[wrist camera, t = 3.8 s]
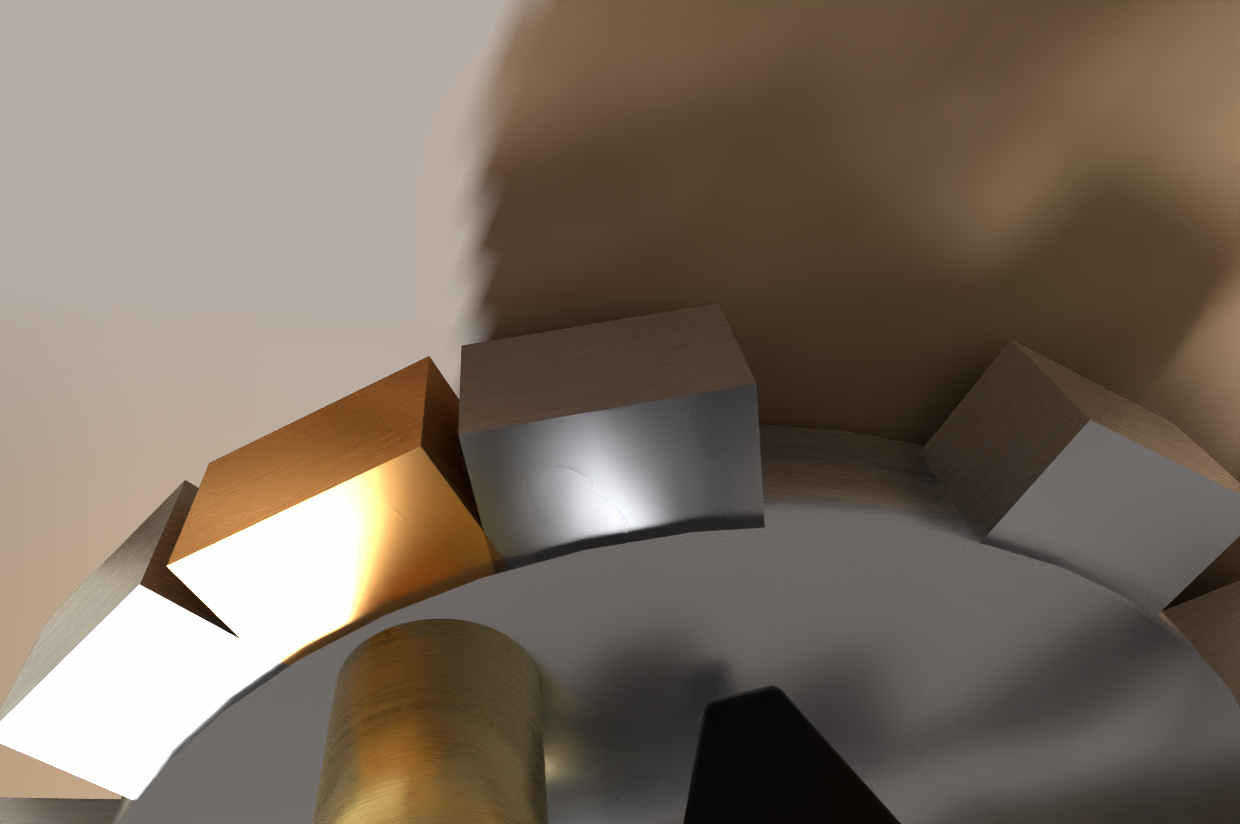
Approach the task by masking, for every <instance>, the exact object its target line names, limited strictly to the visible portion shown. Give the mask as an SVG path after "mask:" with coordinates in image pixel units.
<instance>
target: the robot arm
mask: <svg viewBox="0 0 1240 824" xmlns="http://www.w3.org/2000/svg"><path fill="white" fill-rule="evenodd" d="M683 824H901V823H900V822H899V820H898V819H897V818H896V817H895V816H894V815H893V814H892V813H891V811H890V810H889V809H888V808H887V807H886V806H885V805H884V804H883V803H882V801H881V800H880V799H879V798H878V797H877V796H876V795H875V794H874V792H873V791H872V790H871V789H870V788H869V787H868V786H867V785H866V783H865V782H864V781H863V780H862V779H861V778H860V777H859V776H858V774H857V773H856V772H855V771H854V770H853V769H852V768H851V767H850V765H849V764H848V763H847V762H846V761H845V760H844V759H843V758H842V756H841V755H840V754H839V753H838V752H837V751H836V750H835V749H834V747H833V746H832V745H831V744H830V743H829V742H828V741H827V740H826V739H825V737H824V736H823V735H822V734H821V733H820V732H819V731H818V730H817V728H816V727H815V726H814V725H813V724H812V723H811V722H810V721H809V719H808V718H807V717H806V716H805V715H804V714H803V713H802V712H801V710H800V709H799V708H798V707H797V706H796V705H795V704H794V703H793V701H792V700H791V699H790V698H789V697H788V696H787V695H786V694H785V693H784V691H783V690H781V689H780V688H779V687H777V686H774V685H769V686H765V687H761V688H756V689H752V690H748V691H744V692H741V693H736V694H731V695H727V696H723V697H719V698H715V699H711V700H709V701H708V702H707V703H706V705H705V707H704V709H703V714H702V720H701V725H700V731H699V737H698V742H697V748H696V754H695V759H694V765H693V771H692V776H691V782H690V787H689V793H688V799H687V804H686V810H685V816H684V821H683Z"/></svg>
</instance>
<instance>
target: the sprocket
mask: <svg viewBox="0 0 1240 824" xmlns="http://www.w3.org/2000/svg"><path fill="white" fill-rule="evenodd" d="M1239 536H1240V483H1239V482H1238V481H1237V480H1236V479H1235V478H1234V477H1233V476H1232V475H1231V474H1230V473H1228V472H1227V471H1226V470H1225V469H1224V468H1223V467H1222V466H1221V465H1220V464H1218V463H1217V462H1216V461H1215V460H1214V459H1213V458H1212V457H1211V456H1210V455H1208V454H1207V453H1206V452H1205V451H1204V450H1203V449H1202V448H1201V447H1200V446H1199V445H1197V444H1196V443H1195V442H1194V441H1193V440H1192V439H1191V438H1190V437H1189V436H1187V435H1186V434H1185V433H1184V432H1183V431H1182V430H1181V429H1180V428H1179V427H1177V426H1176V425H1175V424H1174V423H1172V422H1170V421H1168V420H1166V419H1164V418H1162V417H1160V416H1158V415H1156V414H1155V413H1153V412H1151V411H1149V410H1147V409H1145V408H1143V407H1141V406H1139V405H1137V404H1135V403H1133V402H1131V401H1129V400H1128V399H1126V398H1124V397H1122V396H1120V395H1118V394H1116V393H1114V392H1112V391H1110V390H1108V389H1106V388H1104V387H1102V386H1101V385H1099V384H1097V383H1095V382H1093V381H1091V380H1089V379H1087V378H1085V377H1083V376H1081V375H1079V374H1077V373H1075V372H1074V371H1072V370H1070V369H1068V368H1066V367H1064V366H1062V365H1060V364H1058V363H1056V362H1054V361H1052V360H1050V359H1048V358H1046V357H1045V356H1043V355H1041V354H1039V353H1037V352H1035V351H1033V350H1031V349H1029V348H1027V347H1025V346H1023V345H1021V344H1019V343H1018V342H1016V341H1014V340H1012V339H1011V340H1010V342H1009V343H1008V344H1007V345H1006V346H1005V348H1004V349H1003V350H1002V351H1001V353H1000V354H999V355H998V356H997V358H996V359H995V360H994V361H993V363H992V364H991V365H990V366H989V367H988V369H987V370H986V371H985V372H984V374H983V375H982V376H981V377H980V379H979V380H978V381H977V382H976V384H975V385H974V386H973V387H972V388H971V390H970V391H969V392H968V393H967V395H966V396H965V397H964V398H963V400H962V401H961V402H960V403H959V405H958V406H957V407H956V408H955V410H954V411H953V412H952V413H951V414H950V416H949V417H948V418H947V419H946V421H945V422H944V423H943V424H942V426H941V427H940V428H939V429H938V431H937V432H936V433H935V434H934V435H933V437H932V438H931V439H930V440H929V442H928V443H927V444H926V445H925V446H922V445H919V444H914V443H909V442H904V441H899V440H893V439H888V438H883V437H877V436H872V435H867V434H861V433H856V432H851V431H845V430H840V429H825V428H809V427H794V426H778V425H763V424H759V416H758V398H757V383H756V381H755V379H754V377H753V375H752V372H751V370H750V368H749V366H748V364H747V362H746V360H745V358H744V355H743V353H742V351H741V349H740V347H739V345H738V343H737V340H736V338H735V336H734V334H733V332H732V330H731V328H730V326H729V323H728V321H727V319H726V317H725V315H724V313H723V311H722V308H721V306H720V304H719V303H714V304H708V305H702V306H696V307H690V308H684V309H678V310H672V311H666V312H660V313H654V314H648V315H643V316H637V317H631V318H625V319H619V320H613V321H607V322H601V323H595V324H589V325H583V326H577V327H571V328H565V329H559V330H553V331H547V332H541V333H535V334H529V335H523V336H517V337H511V338H505V339H499V340H493V341H487V342H481V343H475V344H469V345H463V346H462V351H461V376H460V400H459V399H458V397H457V396H456V395H455V393H454V392H453V390H452V389H451V387H450V386H449V384H448V383H447V382H446V380H445V378H444V377H443V376H442V374H441V373H440V371H439V370H438V368H437V367H436V365H435V364H434V362H433V361H432V359H431V358H430V357H429V356H428V357H426V358H424V359H422V360H420V361H418V362H416V363H414V364H412V365H410V366H408V367H406V368H404V369H402V370H400V371H398V372H395V373H394V374H391V375H389V376H388V377H385V378H383V379H381V380H379V381H377V382H375V383H373V384H371V385H369V386H367V387H365V388H363V389H361V390H358V391H356V392H354V393H352V394H350V395H348V396H346V397H344V398H342V399H340V400H338V401H336V402H334V403H332V404H330V405H328V406H326V407H324V408H321V409H319V410H317V411H315V412H313V413H311V414H309V415H307V416H305V417H303V418H301V419H299V420H297V421H295V422H293V423H291V424H289V425H287V426H284V427H283V428H280V429H278V430H277V431H274V432H272V433H270V434H268V435H266V436H264V437H262V438H260V439H258V440H256V441H254V442H252V443H250V444H248V445H245V446H244V447H241V448H239V449H237V450H235V451H233V452H231V453H229V454H227V455H225V456H223V457H221V458H219V459H217V460H215V461H213V462H211V463H209V465H208V468H207V470H206V473H205V475H204V477H203V480H202V482H201V485H200V487H199V488H197V487H196V486H194V485H193V484H191V483H189V482H188V481H186V480H185V481H184V482H183V483H182V484H181V485H180V486H179V487H178V488H177V489H176V490H175V491H174V492H173V493H172V494H171V495H170V496H169V497H168V498H167V499H166V500H165V501H164V502H163V503H162V504H161V505H160V506H159V507H158V508H157V509H156V510H155V511H154V512H153V513H152V515H150V517H149V518H147V520H146V521H145V522H144V523H143V524H142V525H141V526H140V527H139V528H138V529H137V530H136V531H135V532H134V533H133V534H132V535H131V536H130V537H129V538H128V539H127V540H126V541H125V542H124V543H123V544H122V545H121V546H120V547H119V548H118V549H117V550H116V551H115V552H114V553H113V554H112V555H111V556H110V557H109V558H108V559H107V560H106V561H105V562H104V563H103V564H102V565H101V566H100V567H99V568H98V569H97V570H96V571H95V573H93V574H92V575H91V576H90V578H89V579H88V580H87V581H86V582H85V583H84V584H83V585H82V586H81V587H80V588H79V589H78V590H77V591H76V592H75V593H74V594H73V595H72V596H71V597H70V598H69V599H68V600H67V601H66V602H65V603H64V604H63V605H62V606H61V607H60V608H59V609H58V610H57V611H56V612H55V613H54V614H53V615H52V616H51V617H50V618H49V619H48V620H47V622H46V624H45V626H44V628H43V630H42V631H41V633H40V635H39V637H38V639H37V641H36V643H35V645H34V646H33V649H32V650H31V652H30V654H29V656H28V658H27V660H26V662H25V663H24V665H23V667H22V669H21V671H20V673H19V675H18V677H17V679H16V680H15V682H14V684H13V686H12V688H11V690H10V692H9V694H8V696H7V698H6V699H5V701H4V703H3V705H2V707H1V709H0V743H1V744H4V745H6V746H8V747H11V748H13V749H15V750H18V751H20V752H22V753H25V754H27V755H29V756H32V757H34V758H36V759H39V760H41V761H44V762H46V763H48V764H50V765H53V766H55V767H57V768H60V769H62V770H65V771H67V772H69V773H71V774H74V775H76V776H78V777H81V778H83V779H85V780H88V781H90V782H92V783H95V784H97V785H99V786H102V787H104V788H106V789H109V790H111V791H114V792H116V793H118V794H120V795H123V796H122V798H121V800H120V799H117V800H116V799H114V800H113V799H58V798H56V799H55V798H0V824H683V821H684V816H685V810H686V804H687V799H688V793H689V787H690V782H691V776H692V771H693V765H694V759H695V754H696V748H697V742H698V737H699V731H700V725H701V720H702V714H703V709H704V707H705V705H706V703H707V702H708V701H709V700H711V699H715V698H719V697H723V696H727V695H731V694H736V693H741V692H744V691H748V690H752V689H756V688H761V687H765V686H769V685H774V686H777V687H779V688H780V689H781V690H783V691H784V693H785V694H786V695H787V696H788V697H789V698H790V699H791V700H792V701H793V703H794V704H795V705H796V706H797V707H798V708H799V709H800V710H801V712H802V713H803V714H804V715H805V716H806V717H807V718H808V719H809V721H810V722H811V723H812V724H813V725H814V726H815V727H816V728H817V730H818V731H819V732H820V733H821V734H822V735H823V736H824V737H825V739H826V740H827V741H828V742H829V743H830V744H831V745H832V746H833V747H834V749H835V750H836V751H837V752H838V753H839V754H840V755H841V756H842V758H843V759H844V760H845V761H846V762H847V763H848V764H849V765H850V767H851V768H852V769H853V770H854V771H855V772H856V773H857V774H858V776H859V777H860V778H861V779H862V780H863V781H864V782H865V783H866V785H867V786H868V787H869V788H870V789H871V790H872V791H873V792H874V794H875V795H876V796H877V797H878V798H879V799H880V800H881V801H882V803H883V804H884V805H885V806H886V807H887V808H888V809H889V810H890V811H891V813H892V814H893V815H894V816H895V817H896V818H897V819H898V820H899V822H900V823H901V824H1240V580H1239V581H1237V582H1234V583H1232V584H1229V585H1227V586H1224V587H1222V588H1219V589H1217V590H1214V591H1212V592H1209V593H1207V594H1204V595H1202V596H1199V597H1197V598H1194V599H1192V600H1189V601H1187V602H1184V603H1182V604H1179V605H1177V606H1174V607H1172V608H1169V609H1166V610H1163V609H1164V608H1165V607H1166V606H1167V605H1168V604H1169V603H1170V602H1171V601H1172V600H1173V599H1174V598H1175V597H1177V596H1178V595H1179V594H1180V593H1181V592H1182V591H1183V590H1184V589H1185V588H1186V587H1187V586H1188V585H1189V584H1190V583H1191V582H1192V581H1193V580H1194V579H1195V578H1196V577H1197V576H1198V575H1199V574H1201V573H1202V572H1203V571H1204V570H1205V569H1206V568H1207V567H1208V566H1209V565H1210V564H1211V563H1212V562H1213V561H1214V560H1215V559H1216V558H1217V557H1218V556H1219V555H1220V554H1221V553H1222V552H1223V551H1225V550H1226V549H1227V548H1228V547H1229V546H1230V545H1231V544H1232V543H1233V542H1234V541H1235V540H1236V539H1237V538H1238V537H1239Z"/></svg>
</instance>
